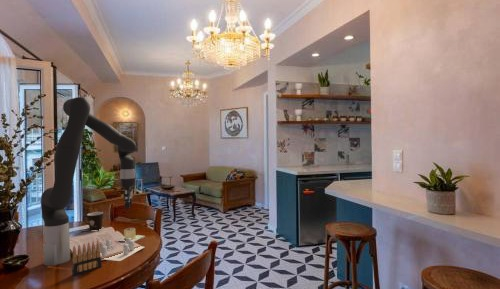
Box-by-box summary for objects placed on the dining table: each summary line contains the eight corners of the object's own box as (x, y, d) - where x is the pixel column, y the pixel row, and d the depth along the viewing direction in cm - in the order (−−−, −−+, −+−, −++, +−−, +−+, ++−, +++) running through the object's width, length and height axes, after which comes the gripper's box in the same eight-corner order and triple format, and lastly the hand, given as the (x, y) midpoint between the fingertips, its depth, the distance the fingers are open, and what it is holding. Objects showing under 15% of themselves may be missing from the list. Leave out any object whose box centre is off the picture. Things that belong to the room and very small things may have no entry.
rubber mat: (131, 244, 159) (131, 242, 159) (114, 242, 162) (114, 240, 162) (145, 237, 170) (144, 235, 170) (128, 235, 173) (128, 234, 173)
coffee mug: (106, 229, 187) (106, 212, 187) (93, 233, 180) (92, 216, 179) (95, 226, 193) (95, 210, 193) (82, 230, 186) (81, 214, 185)
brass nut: (130, 240, 162) (130, 230, 162) (122, 239, 164) (122, 230, 164) (137, 236, 168) (137, 227, 168) (129, 236, 169) (129, 227, 169)
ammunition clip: (100, 267, 131) (99, 239, 131) (101, 268, 130) (100, 240, 130) (72, 275, 124) (70, 245, 124) (73, 276, 123) (72, 246, 122)
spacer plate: (120, 262, 135) (119, 250, 135) (87, 258, 141) (86, 247, 141) (145, 247, 153) (144, 237, 153) (115, 245, 158) (114, 235, 158)
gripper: (133, 178, 159) (134, 209, 159) (137, 175, 173) (137, 204, 173) (117, 179, 157) (118, 211, 158) (122, 176, 171) (123, 205, 172)
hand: (128, 207), depth 165 cm, fingers open, 8 cm apart
